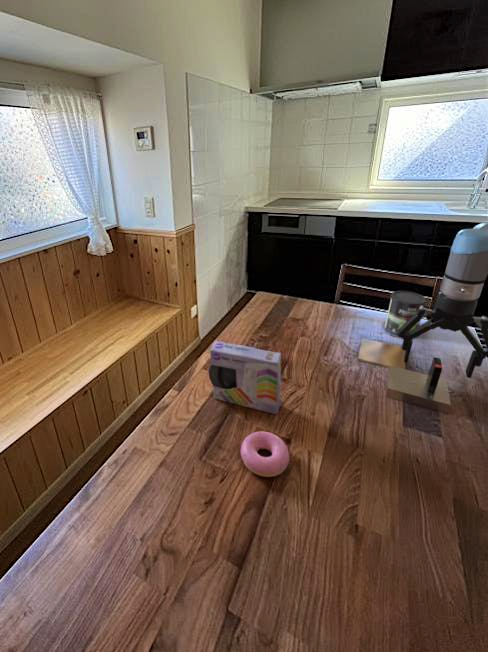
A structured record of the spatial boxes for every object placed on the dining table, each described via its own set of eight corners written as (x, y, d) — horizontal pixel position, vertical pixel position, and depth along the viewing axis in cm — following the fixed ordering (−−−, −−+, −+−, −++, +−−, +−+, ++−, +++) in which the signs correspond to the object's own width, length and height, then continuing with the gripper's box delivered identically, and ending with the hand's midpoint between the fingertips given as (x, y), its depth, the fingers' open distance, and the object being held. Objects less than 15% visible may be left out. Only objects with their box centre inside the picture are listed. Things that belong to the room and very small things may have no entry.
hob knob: (426, 380, 94) (433, 356, 90) (433, 382, 93) (441, 357, 89) (427, 391, 90) (434, 366, 86) (434, 393, 89) (442, 368, 86)
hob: (446, 388, 95) (449, 379, 93) (450, 414, 86) (453, 405, 85) (387, 373, 102) (389, 365, 100) (385, 396, 93) (387, 387, 92)
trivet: (404, 349, 112) (405, 347, 111) (404, 371, 102) (405, 369, 101) (361, 340, 118) (362, 338, 118) (357, 360, 108) (357, 358, 108)
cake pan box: (209, 398, 96) (206, 347, 89) (215, 387, 100) (213, 337, 93) (276, 417, 89) (280, 363, 81) (280, 404, 93) (284, 351, 85)
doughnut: (290, 445, 80) (291, 432, 79) (286, 487, 71) (288, 474, 69) (245, 434, 84) (245, 422, 82) (236, 473, 75) (235, 460, 73)
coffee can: (421, 340, 116) (431, 304, 110) (388, 338, 118) (396, 302, 112) (411, 325, 125) (419, 291, 119) (380, 323, 127) (387, 289, 121)
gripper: (397, 291, 83) (381, 361, 92) (534, 312, 71) (500, 390, 80) (398, 280, 89) (382, 347, 98) (524, 298, 77) (493, 372, 86)
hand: (435, 367), depth 89 cm, fingers open, 13 cm apart
